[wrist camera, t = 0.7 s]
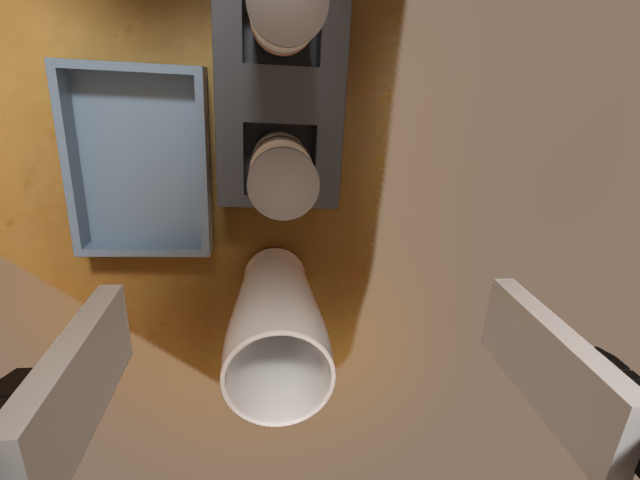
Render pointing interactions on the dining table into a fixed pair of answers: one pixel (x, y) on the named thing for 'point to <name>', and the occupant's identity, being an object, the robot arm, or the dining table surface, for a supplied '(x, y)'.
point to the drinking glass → (276, 345)
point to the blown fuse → (282, 176)
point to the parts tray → (133, 156)
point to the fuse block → (278, 98)
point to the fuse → (286, 24)
